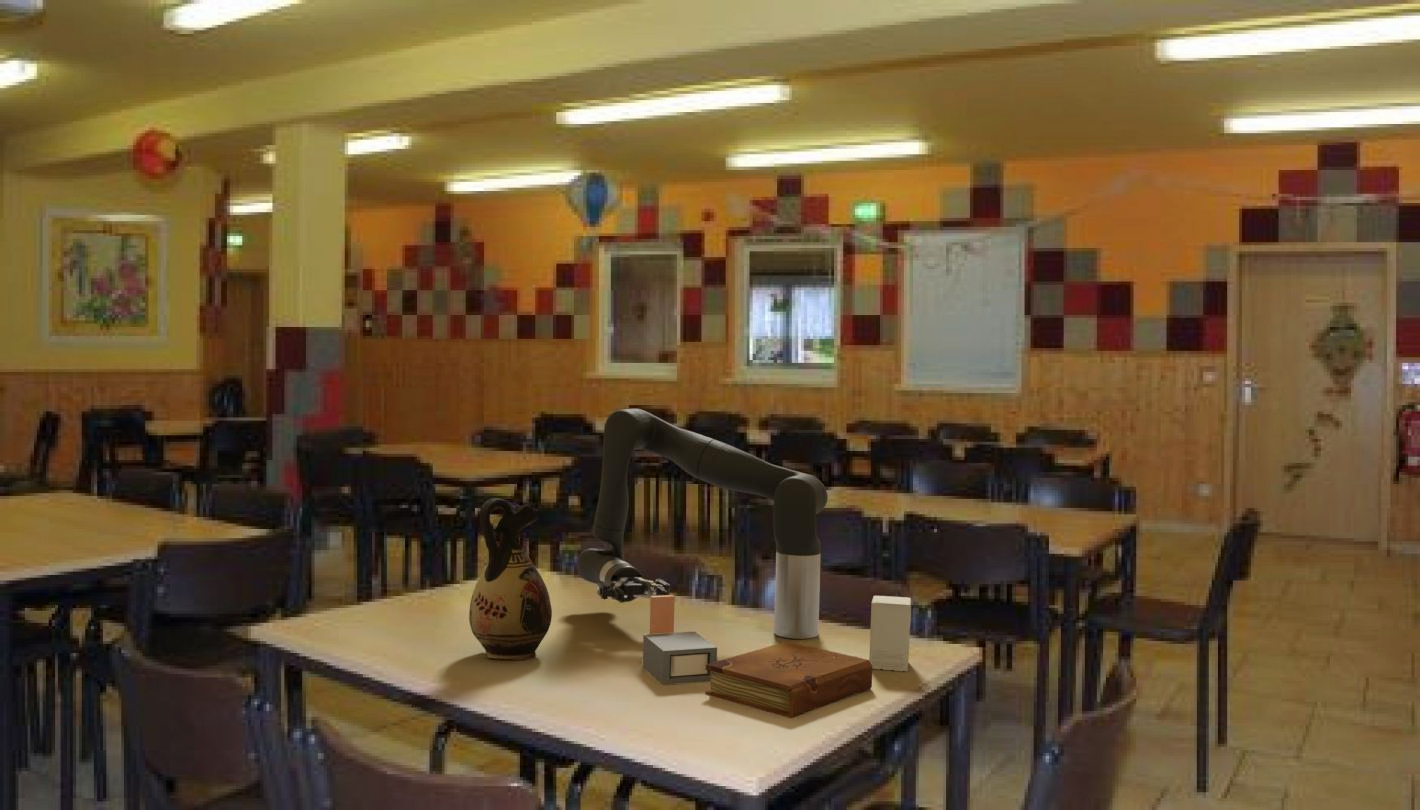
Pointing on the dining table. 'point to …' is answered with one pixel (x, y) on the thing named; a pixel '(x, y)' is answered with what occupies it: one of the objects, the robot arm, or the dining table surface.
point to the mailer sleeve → (668, 644)
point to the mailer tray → (665, 624)
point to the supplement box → (890, 633)
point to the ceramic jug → (509, 589)
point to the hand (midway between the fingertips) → (643, 596)
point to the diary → (789, 678)
